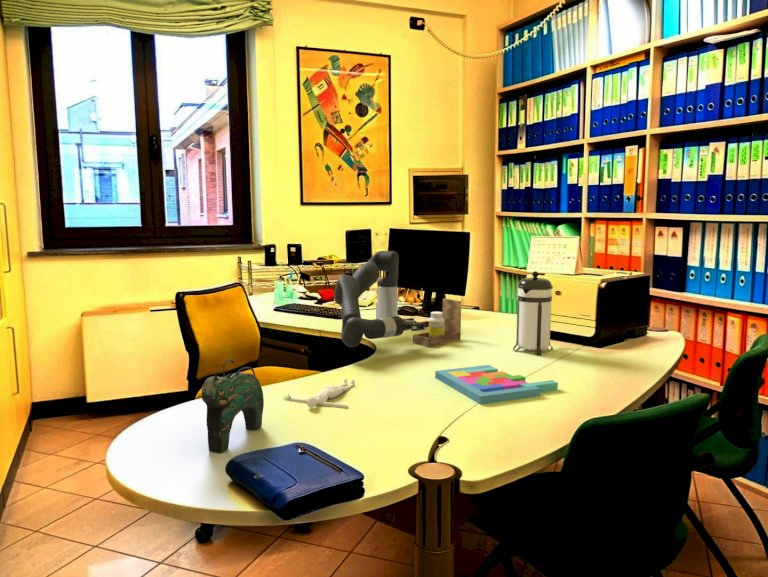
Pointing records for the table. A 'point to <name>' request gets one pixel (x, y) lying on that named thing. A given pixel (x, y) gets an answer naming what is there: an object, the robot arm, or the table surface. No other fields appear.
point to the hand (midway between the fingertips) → (420, 322)
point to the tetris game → (492, 384)
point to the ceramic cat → (231, 405)
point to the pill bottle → (436, 324)
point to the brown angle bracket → (450, 327)
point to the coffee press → (534, 314)
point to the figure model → (325, 396)
